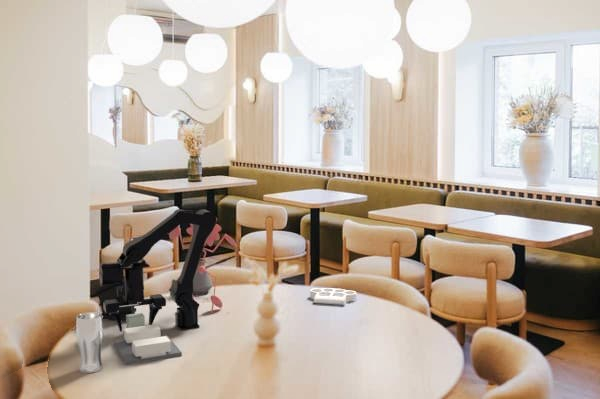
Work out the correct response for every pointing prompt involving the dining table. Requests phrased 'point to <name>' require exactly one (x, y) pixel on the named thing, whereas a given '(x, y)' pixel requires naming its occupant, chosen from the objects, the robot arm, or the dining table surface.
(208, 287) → the coffee pot
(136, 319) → the block
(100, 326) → the beer glass
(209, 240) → the figurine
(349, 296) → the white holed tray
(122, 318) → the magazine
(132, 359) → the rail panel
